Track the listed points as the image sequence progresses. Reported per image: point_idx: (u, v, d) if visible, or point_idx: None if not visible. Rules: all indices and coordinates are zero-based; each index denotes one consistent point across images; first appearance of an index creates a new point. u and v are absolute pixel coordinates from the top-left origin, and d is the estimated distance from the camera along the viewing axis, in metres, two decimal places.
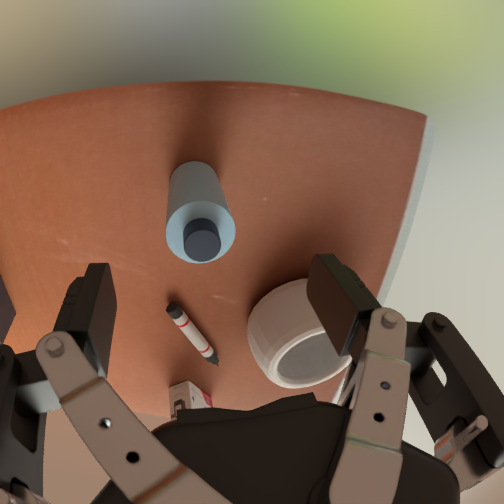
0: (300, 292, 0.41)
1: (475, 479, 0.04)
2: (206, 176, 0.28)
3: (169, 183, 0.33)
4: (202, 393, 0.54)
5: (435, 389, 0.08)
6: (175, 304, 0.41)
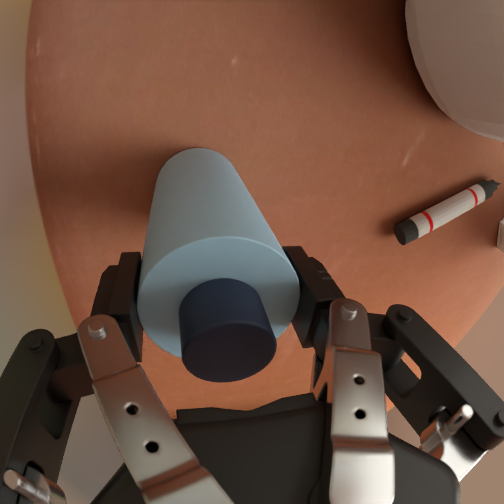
0: (431, 27, 0.13)
1: (470, 466, 0.05)
2: (151, 208, 0.15)
3: None
4: None
5: (408, 380, 0.09)
6: (397, 228, 0.25)
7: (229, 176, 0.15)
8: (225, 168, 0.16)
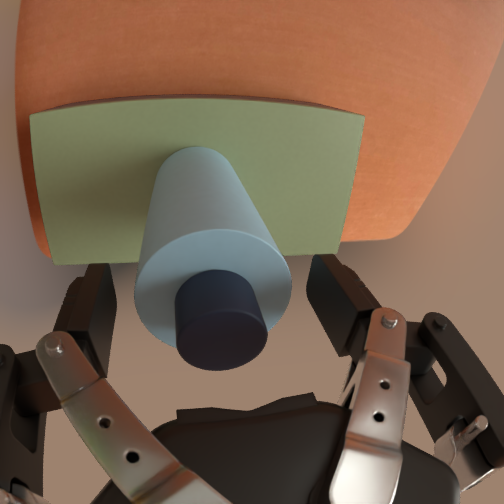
0: None
1: (475, 479, 0.04)
2: None
3: None
4: None
5: (435, 389, 0.08)
6: None
7: (225, 173, 0.15)
8: (222, 166, 0.16)
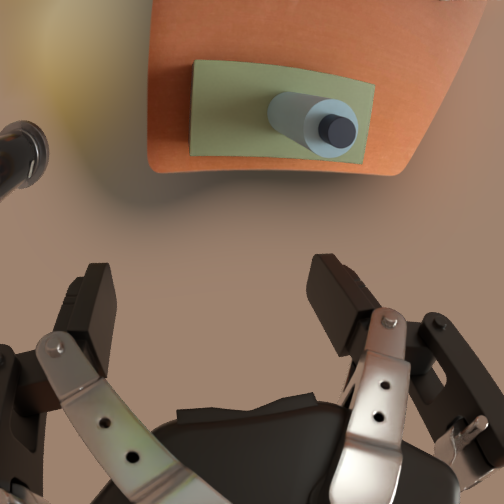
0: None
1: (475, 479, 0.04)
2: (282, 108, 0.30)
3: None
4: None
5: (435, 389, 0.08)
6: None
7: None
8: None
